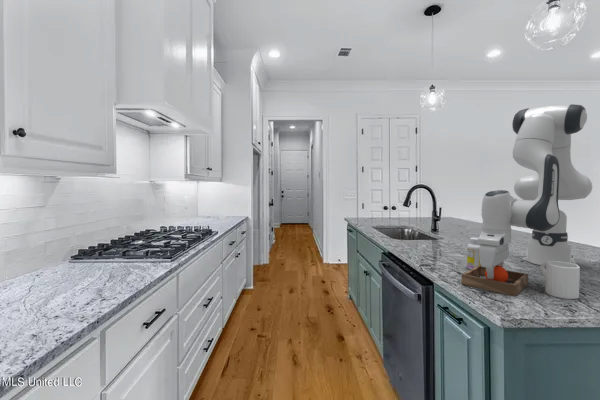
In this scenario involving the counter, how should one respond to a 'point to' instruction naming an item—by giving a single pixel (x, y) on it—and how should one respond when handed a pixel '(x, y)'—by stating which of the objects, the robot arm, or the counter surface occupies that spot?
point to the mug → (561, 279)
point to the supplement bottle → (473, 253)
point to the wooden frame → (501, 287)
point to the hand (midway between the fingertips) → (495, 275)
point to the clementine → (499, 274)
